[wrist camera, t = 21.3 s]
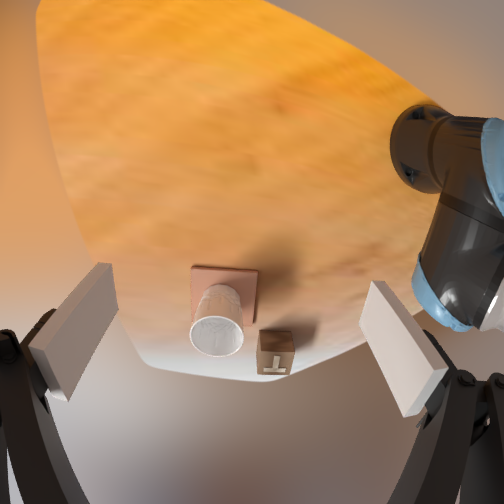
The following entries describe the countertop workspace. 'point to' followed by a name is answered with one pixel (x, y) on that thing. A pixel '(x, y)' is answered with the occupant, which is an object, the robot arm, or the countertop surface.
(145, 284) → the countertop surface
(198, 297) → the coaster
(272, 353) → the letter block
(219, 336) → the white cup
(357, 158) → the countertop surface
